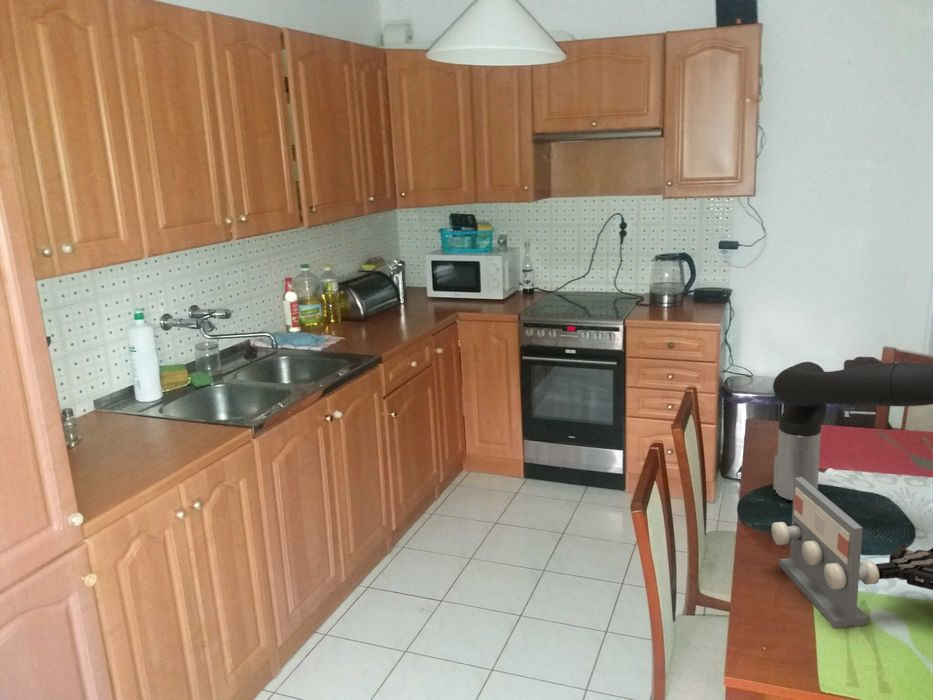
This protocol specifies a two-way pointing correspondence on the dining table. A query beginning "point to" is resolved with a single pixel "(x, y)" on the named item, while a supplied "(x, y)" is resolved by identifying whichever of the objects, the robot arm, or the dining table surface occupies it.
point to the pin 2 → (838, 575)
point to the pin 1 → (785, 532)
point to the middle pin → (812, 552)
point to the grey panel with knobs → (825, 555)
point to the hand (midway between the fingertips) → (875, 572)
